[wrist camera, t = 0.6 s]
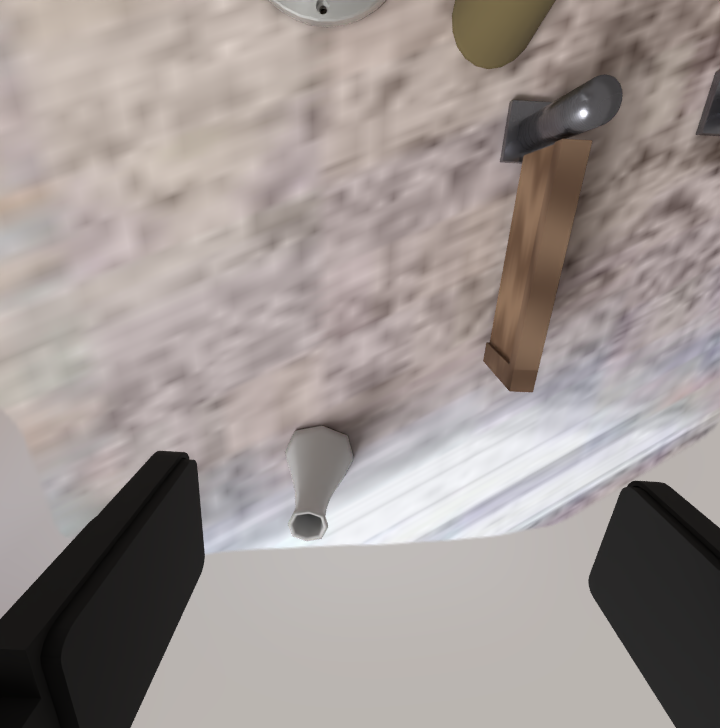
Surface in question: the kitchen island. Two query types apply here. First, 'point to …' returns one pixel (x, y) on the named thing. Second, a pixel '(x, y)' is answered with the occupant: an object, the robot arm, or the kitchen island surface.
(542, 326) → the brown wooden plank
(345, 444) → the flask
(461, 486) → the kitchen island surface
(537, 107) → the grey upright posts
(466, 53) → the olive rounded lobed piece
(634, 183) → the kitchen island surface
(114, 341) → the kitchen island surface
